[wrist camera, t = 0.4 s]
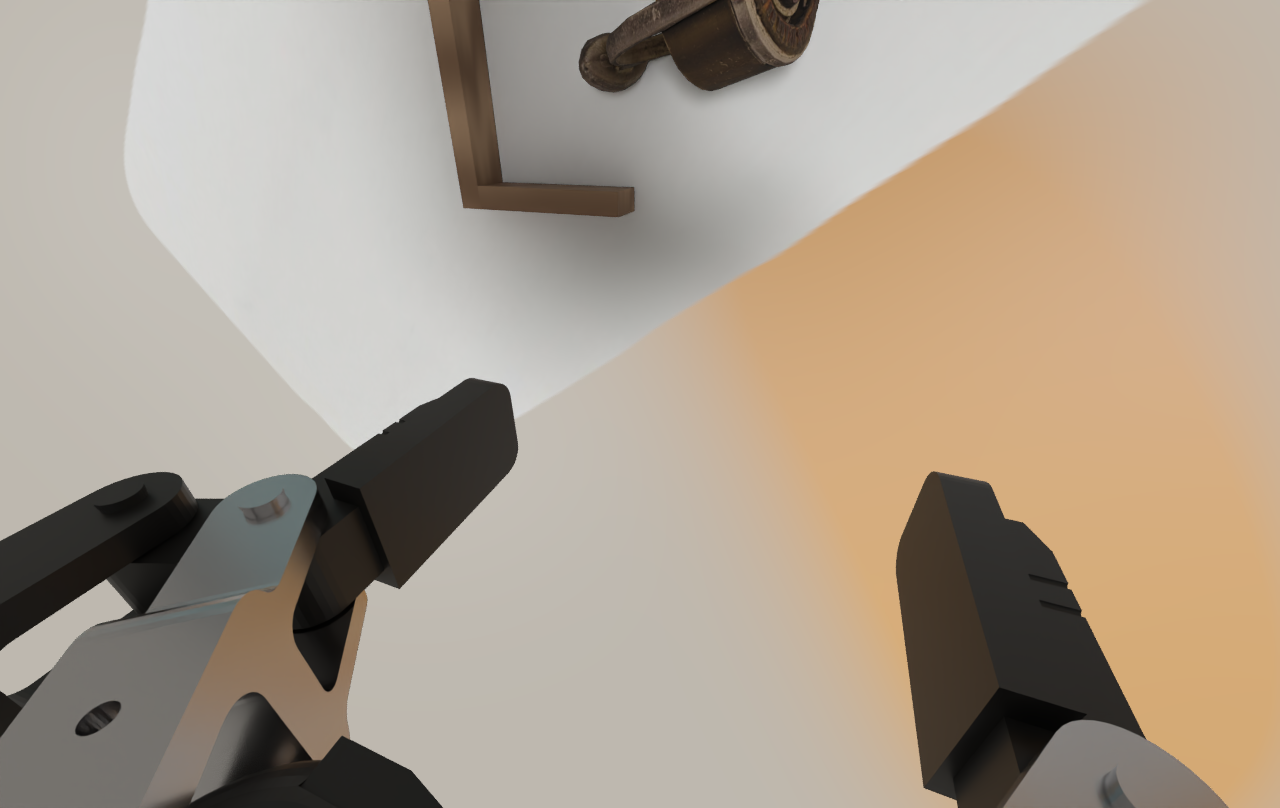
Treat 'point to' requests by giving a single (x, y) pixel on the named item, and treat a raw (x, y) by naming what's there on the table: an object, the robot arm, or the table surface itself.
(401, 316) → the table surface
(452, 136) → the bracket
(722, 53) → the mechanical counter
